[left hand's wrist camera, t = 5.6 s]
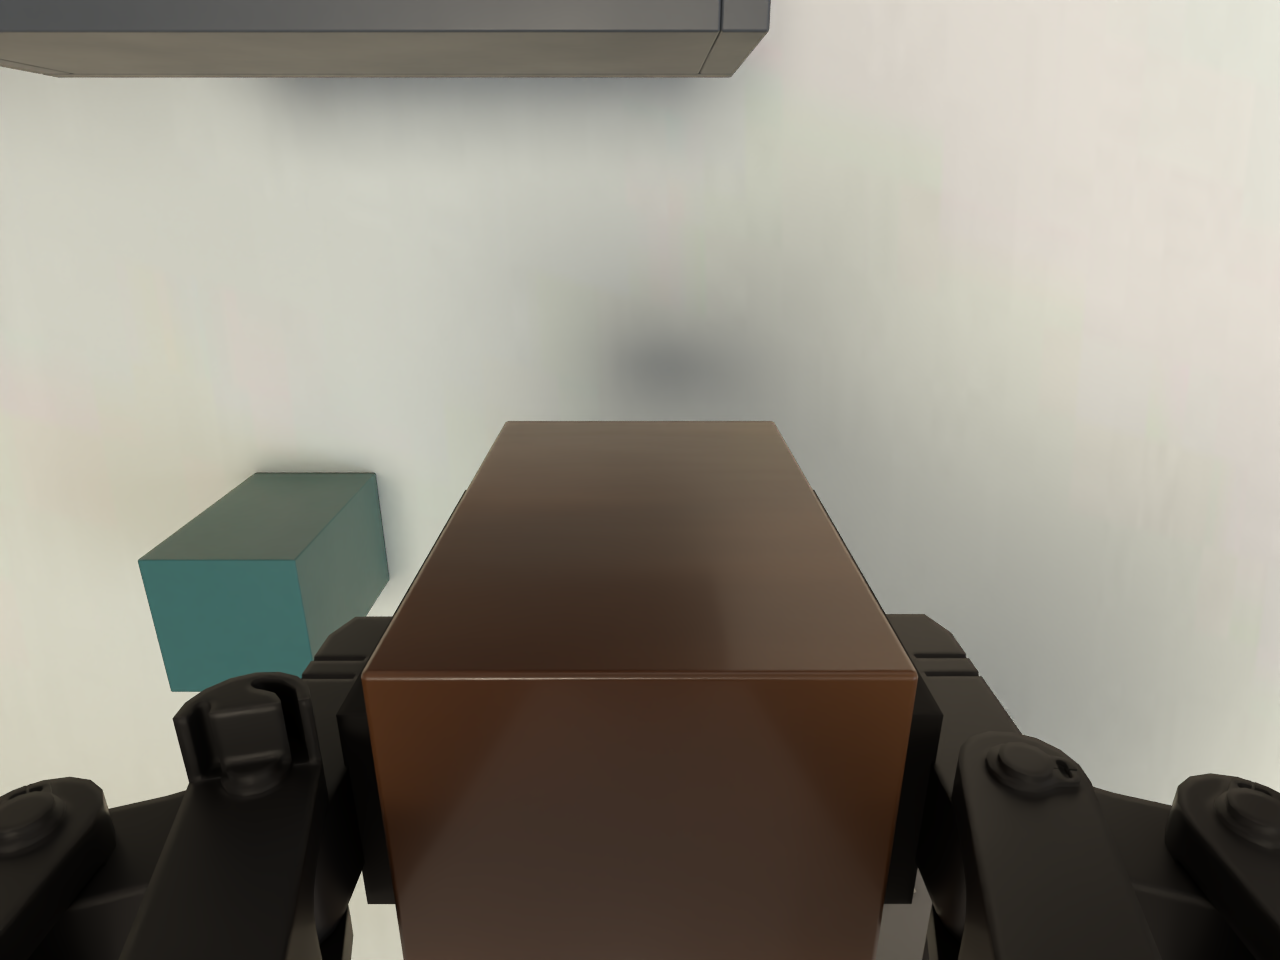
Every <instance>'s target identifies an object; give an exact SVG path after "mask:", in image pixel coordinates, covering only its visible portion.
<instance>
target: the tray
mask: <svg viewBox="0 0 1280 960" xmlns="http://www.w3.org/2000/svg"><path fill="white" fill-rule="evenodd" d="M770 4H771V0H0V66H2V67H7V68H12V69H18V70H23V71H28V72H33V73H39V74H44V75H49V76H54V77H731V76H732V75H733V74H734V73H735V72H736V70H737V69H738V68H739V67H740V65H741V64H742V63H743V62H744V61H745V59H746V58H747V57H748V56H749V54H750V53H751V52H752V51H753V49H754V48H755V47H756V46H757V45H758V43H759V42H760V41H761V40H762V38H763V37H764V36H765V35H766V34H767V32H768V31H769V23H770Z"/></svg>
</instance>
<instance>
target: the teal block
mask: <svg viewBox="0 0 1280 960" xmlns="http://www.w3.org/2000/svg"><path fill="white" fill-rule="evenodd" d="M138 564H139V568H140V571H141V575H142V579H143V583H144V587H145V591H146V595H147V599H148V603H149V606H150V610H151V614H152V618H153V622H154V626H155V630H156V634H157V638H158V641H159V645H160V649H161V653H162V657H163V661H164V665H165V669H166V673H167V676H168V680H169V684H170V688H171V691H172V692H202V691H203V690H204V689H206V688H209V687H211V686H213V685H216V684H218V683H220V682H223V681H225V680H227V679H230V678H234V677H238V676H242V675H247V674H251V673H255V672H282V673H287V674H291V675H295V676H298V677H299V678H300V679H301V678H302V673H303V672H304V670H305V669H306V668H307V666H308V665H309V663H310V662H311V661H314V656H315V655H316V653H317V652H318V650H319V649H320V647H321V646H322V644H323V643H324V642H325V640H326V639H327V637H328V636H329V635H330V634H331V633H333V632H334V631H336V630H337V629H338V628H340V627H341V626H343V625H344V624H346V623H347V622H349V621H350V620H351V619H353V618H354V617H366V615H367V614H368V612H369V611H370V609H371V607H372V606H373V604H374V603H375V601H376V600H377V598H378V597H379V595H380V593H381V592H382V590H383V589H384V587H385V586H386V584H387V582H388V581H389V576H388V568H387V560H386V553H385V545H384V537H383V529H382V522H381V514H380V506H379V499H378V491H377V483H376V475H375V473H255V474H253V475H252V476H251V477H249V478H248V479H247V480H245V481H244V482H243V483H241V484H240V485H239V486H237V487H236V488H234V489H233V490H232V491H230V492H229V493H228V494H226V495H225V496H224V497H222V498H221V499H220V500H218V501H217V502H216V503H214V504H213V505H212V506H210V507H209V508H208V509H206V510H205V511H203V512H202V513H201V514H199V515H198V516H197V517H195V518H194V519H193V520H191V521H190V522H189V523H187V524H186V525H185V526H183V527H182V528H181V529H179V530H178V531H176V532H175V533H174V534H172V535H171V536H170V537H168V538H167V539H166V540H164V541H163V542H162V543H160V544H159V545H158V546H156V547H155V548H154V549H152V550H151V551H150V552H148V553H147V554H145V555H144V556H143V557H141V558H140V559H139V560H138Z"/></svg>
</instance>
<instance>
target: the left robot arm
mask: <svg viewBox="0 0 1280 960" xmlns="http://www.w3.org/2000/svg"><path fill="white" fill-rule="evenodd" d="M466 491H467V490H465V492H466ZM813 491H814V490H813ZM465 492H464V493H463V495H462V497H461V499H462V498H463V496H464V494H465ZM814 493H815V491H814ZM815 495H816V497H817V498H818V496H817V494H816V493H815ZM461 499H460V500H459V502H458V504H459V503H460V501H461ZM818 500H819V498H818ZM819 502H820V504H821V505H822V503H821V501H820V500H819ZM458 504H457V506H458ZM457 506H456V507H455V509H454V511H455V510H456V508H457ZM822 507H823V509H824V511H825V512H826V510H825V508H824V506H823V505H822ZM454 511H453V513H454ZM453 513H452V514H451V516H450V518H451V517H452V515H453ZM826 514H827V516H828V518H829V519H830V517H829V515H828V513H827V512H826ZM450 518H449V520H450ZM449 520H448V521H447V523H446V525H447V524H448V522H449ZM830 521H831V523H832V525H833V526H834V524H833V522H832V520H831V519H830ZM446 525H445V526H444V528H443V530H442V532H443V531H444V529H445V527H446ZM834 528H835V530H836V532H837V533H838V531H837V529H836V527H835V526H834ZM442 532H441V533H440V535H439V537H438V539H439V538H440V536H441V534H442ZM838 535H839V537H840V539H841V540H842V542H843V544H844V546H845V547H846V549H847V551H848V553H849V554H850V556H851V558H852V560H853V561H854V563H855V565H856V567H857V568H858V570H859V572H860V574H861V575H862V577H863V579H864V581H865V582H866V584H867V586H868V588H869V589H870V591H871V593H872V595H873V596H874V598H875V600H876V602H877V603H878V605H879V607H880V609H881V610H882V612H883V614H884V615H885V617H886V619H887V621H888V622H889V624H890V626H891V628H892V629H893V631H894V633H895V635H896V636H897V638H898V640H899V642H900V643H901V645H902V647H903V649H904V650H905V652H906V654H907V656H908V657H909V659H910V661H911V663H912V664H913V666H914V668H915V670H916V672H917V674H918V682H917V688H916V695H915V701H914V708H913V715H912V721H911V728H910V734H909V741H908V748H907V754H906V761H905V768H904V774H903V781H902V787H901V794H900V801H899V807H898V814H897V821H896V827H895V834H894V840H893V847H892V854H891V860H890V867H889V874H888V880H887V887H886V893H885V900H884V907H883V913H882V920H881V926H880V933H879V940H878V946H877V953H876V960H1280V793H1279V792H1277V791H1275V790H1273V789H1271V788H1269V787H1266V786H1264V785H1261V784H1258V783H1256V782H1255V783H1254V782H1251V781H1249V780H1245V779H1242V778H1239V777H1233V776H1226V775H1218V774H1211V773H1210V774H1204V775H1197V776H1190V777H1189V778H1187V779H1186V780H1185V781H1184V782H1183V783H1181V784H1180V785H1179V786H1178V788H1177V791H1176V795H1175V798H1174V801H1173V804H1172V806H1171V805H1166V804H1162V803H1157V802H1153V801H1148V800H1143V799H1139V798H1134V797H1130V796H1125V795H1121V794H1116V793H1112V792H1109V791H1105V790H1102V789H1098V788H1095V787H1093V786H1092V783H1091V781H1090V780H1089V778H1088V777H1087V776H1086V774H1085V773H1084V771H1083V770H1082V768H1081V767H1080V765H1079V764H1077V763H1076V762H1075V761H1074V760H1072V759H1071V758H1070V757H1069V756H1067V755H1066V754H1065V753H1064V752H1062V751H1061V750H1060V749H1057V748H1055V747H1053V746H1051V745H1049V744H1047V743H1045V742H1043V741H1041V740H1039V739H1037V738H1033V737H1029V736H1025V735H1022V734H1021V732H1020V731H1019V729H1018V728H1017V726H1016V725H1015V724H1014V722H1013V721H1012V719H1011V718H1010V716H1009V715H1008V714H1007V712H1006V711H1005V709H1004V708H1003V706H1002V705H1001V704H1000V702H999V701H998V699H997V698H996V696H995V695H994V694H993V692H992V691H991V689H990V688H989V686H988V685H987V684H986V682H985V681H984V679H983V678H982V676H979V675H978V671H977V669H976V668H975V666H974V665H973V664H972V662H971V661H970V659H969V658H966V654H965V652H964V651H963V649H962V648H961V646H960V645H959V644H958V642H957V641H956V639H955V638H954V636H953V635H952V634H951V632H949V631H948V630H946V629H945V628H943V627H942V626H941V625H939V624H938V623H936V622H935V621H933V620H932V619H931V618H929V617H928V616H926V615H925V614H885V612H884V611H883V609H882V607H881V605H880V604H879V602H878V600H877V598H876V597H875V595H874V593H873V592H872V590H871V588H870V586H869V585H868V583H867V581H866V579H865V578H864V576H863V574H862V572H861V571H860V569H859V567H858V566H857V564H856V562H855V560H854V559H853V557H852V555H851V553H850V552H849V550H848V548H847V546H846V545H845V543H844V541H843V539H842V538H841V536H840V534H839V533H838ZM438 539H437V540H436V542H435V544H434V546H435V545H436V543H437V541H438ZM434 546H433V547H432V549H431V551H430V552H429V554H428V556H427V558H428V557H429V555H430V553H431V552H432V550H433V548H434ZM427 558H426V559H425V561H424V563H423V565H424V564H425V562H426V560H427ZM423 565H422V566H421V568H420V570H419V572H420V571H421V569H422V567H423ZM419 572H418V573H417V575H416V577H415V579H416V578H417V576H418V574H419ZM415 579H414V580H413V582H412V584H411V585H410V587H409V589H408V591H407V592H406V594H405V596H404V598H403V599H402V601H401V603H400V605H399V606H398V608H397V610H396V611H395V613H394V615H393V617H354V618H353V619H351V620H350V621H349V622H347V623H346V624H344V625H343V626H341V627H340V628H338V629H337V630H336V631H334V632H333V633H331V634H330V635H329V636H328V637H327V639H326V640H325V642H324V643H323V644H322V646H321V647H320V649H319V650H318V652H317V653H316V655H315V656H314V661H311V662H310V663H309V665H308V666H307V668H306V669H305V670H304V672H303V673H302V678H301V679H300V678H299V677H298V676H295V675H291V674H287V673H282V672H255V673H251V674H247V675H242V676H238V677H234V678H230V679H227V680H225V681H223V682H220V683H218V684H216V685H213V686H211V687H209V688H206V689H204V690H203V691H202V692H200V693H199V694H197V695H196V696H194V697H193V698H191V699H190V700H189V701H187V702H186V703H185V704H184V705H183V706H182V707H181V709H180V710H179V711H178V712H177V714H176V715H175V716H174V718H173V722H174V726H175V730H176V733H177V737H178V741H179V745H180V749H181V753H182V757H183V760H184V764H185V768H186V772H187V776H188V780H189V785H188V787H187V790H186V791H182V792H179V793H175V794H172V795H168V796H165V797H160V798H156V799H151V800H147V801H142V802H138V803H133V804H129V805H124V806H120V807H115V808H111V809H108V806H107V803H106V800H105V797H104V793H103V790H102V789H101V788H100V787H99V786H97V785H96V784H95V783H94V782H93V781H91V780H87V779H81V778H74V777H65V778H58V779H50V780H43V781H40V782H37V783H33V784H29V785H28V786H23V787H21V788H18V789H15V790H13V791H11V792H9V793H7V794H5V795H3V796H1V797H0V960H351V953H352V943H353V930H352V923H351V917H350V911H349V906H348V903H349V901H350V898H351V896H352V893H353V891H354V889H355V886H356V884H357V881H358V879H359V876H360V874H361V871H362V873H363V879H364V885H365V890H366V896H367V902H368V904H395V898H394V892H393V885H392V878H391V872H390V865H389V859H388V852H387V845H386V839H385V832H384V826H383V819H382V812H381V806H380V799H379V793H378V786H377V779H376V773H375V766H374V760H373V753H372V746H371V740H370V733H369V727H368V720H367V713H366V707H365V700H364V694H363V687H362V680H361V675H362V672H363V670H364V668H365V666H366V665H367V663H368V661H369V659H370V658H371V656H372V654H373V653H374V651H375V649H376V647H377V646H378V644H379V642H380V640H381V639H382V637H383V635H384V633H385V632H386V630H387V628H388V626H389V625H390V623H391V621H392V619H393V618H394V616H395V614H396V612H397V611H398V609H399V607H400V606H401V604H402V602H403V600H404V599H405V597H406V595H407V593H408V592H409V590H410V588H411V586H412V585H413V583H414V581H415Z"/></svg>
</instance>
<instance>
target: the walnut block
mask: <svg viewBox="0 0 1280 960" xmlns="http://www.w3.org/2000/svg"><path fill="white" fill-rule="evenodd" d="M361 680H362V687H363V694H364V700H365V707H366V713H367V720H368V727H369V733H370V740H371V746H372V753H373V760H374V766H375V773H376V779H377V786H378V793H379V799H380V806H381V812H382V819H383V826H384V832H385V839H386V845H387V852H388V859H389V865H390V872H391V878H392V885H393V892H394V898H395V905H396V911H397V918H398V925H399V931H400V938H401V944H402V951H403V958H404V960H876V953H877V946H878V940H879V933H880V926H881V920H882V913H883V907H884V900H885V893H886V887H887V880H888V874H889V867H890V860H891V854H892V847H893V840H894V834H895V827H896V821H897V814H898V807H899V801H900V794H901V787H902V781H903V774H904V768H905V761H906V754H907V748H908V741H909V734H910V728H911V721H912V715H913V708H914V701H915V695H916V688H917V682H918V674H917V672H916V670H915V668H914V666H913V664H912V663H911V661H910V659H909V657H908V656H907V654H906V652H905V650H904V649H903V647H902V645H901V643H900V642H899V640H898V638H897V636H896V635H895V633H894V631H893V629H892V628H891V626H890V624H889V622H888V621H887V619H886V617H885V615H884V614H883V612H882V610H881V609H880V607H879V605H878V603H877V602H876V600H875V598H874V596H873V595H872V593H871V591H870V589H869V588H868V586H867V584H866V582H865V581H864V579H863V577H862V575H861V574H860V572H859V570H858V568H857V567H856V565H855V563H854V561H853V560H852V558H851V556H850V554H849V553H848V551H847V549H846V547H845V546H844V544H843V542H842V540H841V539H840V537H839V535H838V533H837V532H836V530H835V528H834V526H833V525H832V523H831V521H830V519H829V518H828V516H827V514H826V512H825V511H824V509H823V507H822V505H821V504H820V502H819V500H818V498H817V497H816V495H815V493H814V491H813V490H812V488H811V486H810V484H809V483H808V481H807V479H806V477H805V476H804V474H803V472H802V470H801V469H800V467H799V465H798V463H797V462H796V460H795V458H794V456H793V455H792V453H791V451H790V449H789V448H788V446H787V444H786V443H785V441H784V439H783V437H782V436H781V434H780V432H779V430H778V429H777V427H776V425H775V423H774V422H772V421H508V422H506V423H505V424H504V426H503V428H502V430H501V431H500V433H499V435H498V437H497V438H496V440H495V442H494V444H493V445H492V447H491V449H490V450H489V452H488V454H487V456H486V457H485V459H484V461H483V463H482V464H481V466H480V468H479V470H478V471H477V473H476V475H475V477H474V478H473V480H472V482H471V484H470V485H469V487H468V489H467V491H466V492H465V494H464V496H463V498H462V499H461V501H460V503H459V504H458V506H457V508H456V510H455V511H454V513H453V515H452V517H451V518H450V520H449V522H448V524H447V525H446V527H445V529H444V531H443V532H442V534H441V536H440V538H439V539H438V541H437V543H436V545H435V546H434V548H433V550H432V552H431V553H430V555H429V557H428V558H427V560H426V562H425V564H424V565H423V567H422V569H421V571H420V572H419V574H418V576H417V578H416V579H415V581H414V583H413V585H412V586H411V588H410V590H409V592H408V593H407V595H406V597H405V599H404V600H403V602H402V604H401V606H400V607H399V609H398V611H397V612H396V614H395V616H394V618H393V619H392V621H391V623H390V625H389V626H388V628H387V630H386V632H385V633H384V635H383V637H382V639H381V640H380V642H379V644H378V646H377V647H376V649H375V651H374V653H373V654H372V656H371V658H370V659H369V661H368V663H367V665H366V666H365V668H364V670H363V672H362V675H361Z"/></svg>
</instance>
